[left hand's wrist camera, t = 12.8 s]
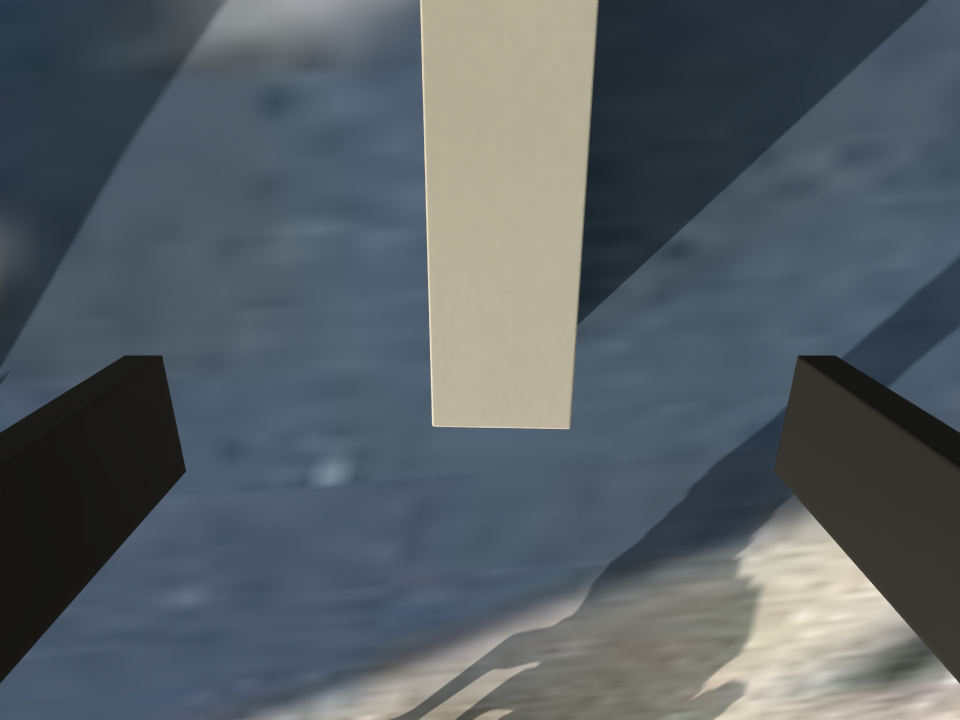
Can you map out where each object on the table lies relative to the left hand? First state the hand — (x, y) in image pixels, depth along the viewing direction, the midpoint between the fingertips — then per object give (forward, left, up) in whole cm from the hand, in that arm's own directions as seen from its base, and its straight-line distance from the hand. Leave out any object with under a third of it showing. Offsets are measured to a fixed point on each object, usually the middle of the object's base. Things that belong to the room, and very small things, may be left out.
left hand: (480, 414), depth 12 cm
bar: (+3, +26, -16) cm, 31 cm away
